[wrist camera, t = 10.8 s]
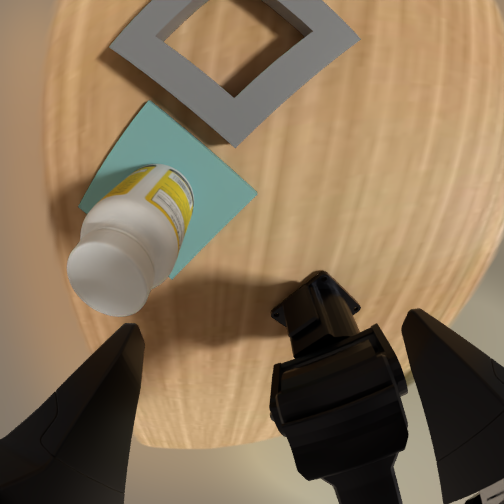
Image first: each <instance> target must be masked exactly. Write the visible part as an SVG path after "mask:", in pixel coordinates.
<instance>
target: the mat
mask: <svg viewBox="0 0 504 504" xmlns="http://www.w3.org/2000/svg"><path fill="white" fill-rule="evenodd" d="M150 164H163V165H167V166H170V167H172V168H174V169H176V170H178V171H179V172H180V173H182V174H183V175H184V176H185V178H186V179H187V180H188V182H189V184H190V185H191V188H192V191H193V195H194V208H193V213H192V216H191V219H190V222H189V225H188V228H187V231H186V233H185V236H184V239H183V242H182V245H181V248H180V251H179V254H178V257H177V260H176V263H175V265H174V268H173V270H172V272H171V273H170V275H169V276H168V277H169V278H171V279H173V278H174V277H175V276H176V275H177V274H178V273H179V272H180V271H181V270H182V269H183V268H184V267H185V266H186V265H187V264H188V263H189V262H190V261H191V260H192V259H193V257H194V256H195V255H196V254H197V253H198V252H199V251H200V250H201V249H202V248H203V247H204V246H205V245H206V244H207V243H208V242H209V241H210V240H211V239H212V238H213V237H214V236H215V235H216V234H217V233H218V232H219V231H220V230H221V229H222V228H223V227H224V226H225V225H226V224H227V223H228V222H229V221H230V220H231V219H233V218H234V217H235V216H236V215H237V214H238V213H239V212H240V211H241V210H242V209H243V208H244V207H245V206H246V205H247V204H248V203H249V202H250V201H251V200H252V199H253V198H254V197H255V196H256V195H257V192H256V191H255V190H254V189H253V188H252V187H251V186H250V185H249V184H248V183H247V182H246V181H244V180H243V179H242V178H241V177H240V176H239V175H238V174H237V173H236V172H234V171H233V170H232V169H231V168H230V167H229V166H228V165H227V164H225V163H224V162H223V161H222V160H221V159H220V158H219V157H217V156H216V155H215V154H214V153H213V152H212V151H211V150H209V149H208V148H207V147H206V146H205V145H204V144H202V143H201V142H200V141H199V140H198V139H197V138H195V137H194V136H193V135H192V134H191V133H189V132H188V131H187V130H186V129H185V128H184V127H182V126H181V125H180V124H179V123H177V122H176V121H175V120H174V119H173V118H171V117H170V116H169V115H168V114H167V113H165V112H164V111H163V110H162V109H160V108H159V107H158V106H157V105H155V104H154V103H153V102H152V101H148V102H147V103H146V104H145V105H144V107H143V108H142V109H141V111H140V112H139V113H138V114H137V116H136V117H135V118H134V120H133V121H132V122H131V124H130V125H129V126H128V128H127V129H126V130H125V132H124V133H123V135H122V136H121V137H120V139H119V140H118V142H117V143H116V145H115V146H114V148H113V149H112V151H111V152H110V154H109V155H108V157H107V158H106V160H105V161H104V163H103V165H102V166H101V168H100V169H99V171H98V173H97V174H96V176H95V178H94V179H93V181H92V183H91V184H90V186H89V188H88V190H87V191H86V193H85V195H84V197H83V199H82V201H81V202H80V204H79V206H78V207H79V208H80V209H81V210H82V211H84V212H85V213H86V214H88V213H89V211H90V210H91V209H92V208H93V207H94V206H95V205H96V204H97V203H98V202H99V201H100V200H101V199H102V198H103V197H104V196H106V195H107V194H108V193H109V192H110V191H111V190H112V189H114V188H115V187H116V186H117V185H118V184H120V183H121V182H122V181H123V180H124V179H126V178H127V177H128V176H129V175H130V174H132V173H133V172H134V171H136V170H137V169H139V168H141V167H143V166H146V165H150Z"/></svg>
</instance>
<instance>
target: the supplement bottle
mask: <svg viewBox="0 0 504 504" xmlns="http://www.w3.org/2000/svg"><path fill="white" fill-rule="evenodd" d="M193 208H194V195H193V191H192V188H191V185H190V184H189V182H188V180H187V179H186V178H185V176H184V175H183V174H182V173H180V172H179V171H178V170H176V169H174V168H172V167H170V166H167V165H163V164H150V165H146V166H143V167H141V168H139V169H137V170H136V171H134V172H133V173H132V174H130V175H129V176H128V177H127V178H126V179H124V180H123V181H122V182H121V183H120V184H118V185H117V186H116V187H115V188H114V189H112V190H111V191H110V192H109V193H108V194H107V195H106V196H104V197H103V198H102V199H101V200H100V201H99V202H98V203H97V204H96V205H95V206H94V207H93V208H92V209H91V210H90V211H89V213H88V214H87V216H86V217H85V219H84V222H83V224H82V228H81V235H80V241H79V243H78V244H77V245H76V247H75V248H74V249H73V250H72V252H71V254H70V256H69V258H68V262H67V274H68V278H69V281H70V284H71V286H72V288H73V289H74V291H75V292H76V294H77V295H78V296H79V297H80V298H81V299H82V300H83V301H84V302H85V303H86V304H87V305H89V306H90V307H91V308H93V309H95V310H96V311H99V312H101V313H103V314H106V315H110V316H117V317H124V316H129V315H132V314H135V313H136V312H138V311H139V310H140V309H141V308H142V307H143V306H144V304H145V303H146V301H147V298H148V296H149V293H150V291H151V289H153V288H155V287H157V286H159V285H160V284H161V283H163V282H164V281H165V280H166V279H167V278H168V276H169V275H170V273H171V272H172V270H173V268H174V265H175V263H176V260H177V257H178V254H179V251H180V248H181V245H182V242H183V239H184V236H185V233H186V231H187V228H188V225H189V222H190V219H191V216H192V213H193Z"/></svg>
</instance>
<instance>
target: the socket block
mask: <svg viewBox="0 0 504 504" xmlns="http://www.w3.org/2000/svg"><path fill="white" fill-rule="evenodd" d="M207 1H208V0H152V1H151V2H150V3H149V4H148V5H147V6H146V7H145V8H144V9H143V10H142V11H141V12H140V13H139V14H138V15H137V16H136V17H135V18H134V19H133V20H132V21H131V22H130V23H129V24H128V25H127V26H126V28H125V29H124V30H123V31H122V32H121V33H120V34H119V36H118V37H117V38H116V39H115V40H114V41H113V43H112V44H111V45H110V46H109V48H111V49H112V50H114V51H115V52H117V53H118V54H119V55H121V56H122V57H124V58H125V59H126V60H128V61H129V62H130V63H132V64H133V65H135V66H136V67H137V68H139V69H140V70H141V71H143V72H144V73H145V74H147V75H148V76H149V77H150V78H152V79H153V80H154V81H156V82H157V83H158V84H160V85H161V86H162V87H163V88H165V89H166V90H167V91H168V92H170V93H171V94H172V95H173V96H175V97H176V98H177V99H178V100H180V101H181V102H182V103H183V104H184V105H186V106H187V107H188V108H189V109H191V110H192V111H193V112H194V113H195V114H197V115H198V116H199V117H200V118H201V119H202V120H204V121H205V122H206V123H207V124H208V125H209V126H211V127H212V128H213V129H214V130H215V131H216V132H218V133H219V134H220V135H221V136H222V137H223V138H224V139H225V140H227V141H228V142H229V143H230V144H231V145H232V146H233V147H234V148H236V147H237V146H238V145H239V144H240V143H241V142H242V141H243V140H244V139H245V138H246V137H247V136H248V135H249V134H250V133H251V132H252V131H253V130H254V129H255V128H256V127H258V126H259V125H260V124H261V123H262V122H263V121H264V120H265V119H266V118H267V117H268V116H269V115H270V114H271V113H272V112H274V111H275V110H276V109H277V108H278V107H279V106H280V105H281V104H282V103H283V102H285V101H286V100H287V99H288V98H289V97H290V96H291V95H292V94H294V93H295V92H296V91H297V90H298V89H299V88H300V87H302V86H303V85H304V84H305V83H306V82H308V81H309V80H310V79H311V78H312V77H313V76H315V75H316V74H317V73H318V72H320V71H321V70H322V69H323V68H324V67H326V66H327V65H328V64H329V63H331V62H332V61H333V60H334V59H336V58H337V57H338V56H340V55H341V54H342V53H343V52H345V51H346V50H347V49H349V48H350V47H351V46H353V45H354V44H355V43H357V42H358V41H359V40H361V39H360V38H359V37H358V35H357V34H356V33H355V32H354V31H353V30H352V29H351V28H350V27H349V26H348V25H347V24H346V23H345V22H344V21H343V20H342V19H341V18H340V17H339V16H338V15H337V14H336V13H335V12H334V11H333V10H332V9H331V8H330V7H329V6H328V5H327V4H325V3H324V2H323V1H322V0H262V1H263V2H264V3H266V4H267V5H268V6H270V7H271V8H272V9H273V10H275V11H276V12H277V13H278V14H280V15H281V16H282V17H283V18H284V19H285V20H287V21H288V22H289V23H290V24H291V25H292V26H294V27H295V28H296V29H297V30H298V31H299V32H300V33H301V34H302V35H303V36H305V38H303V39H302V40H301V41H299V42H298V43H297V44H296V45H294V46H293V47H292V48H291V49H289V50H288V51H287V52H286V53H284V54H283V55H282V56H281V57H280V58H278V59H277V60H276V61H275V62H274V63H272V64H271V65H270V66H269V67H268V68H267V69H266V70H264V71H263V72H262V73H261V74H260V75H259V76H258V77H257V78H255V79H254V80H253V81H252V82H251V83H250V84H249V85H248V86H247V87H246V88H245V89H244V90H242V91H241V92H240V93H239V94H238V95H237V96H236V97H235V98H233V97H232V96H231V95H230V94H229V93H228V92H226V91H225V90H224V89H223V88H222V87H221V86H219V85H218V84H217V83H216V82H215V81H213V80H212V79H211V78H210V77H209V76H207V75H206V74H205V73H204V72H202V71H201V70H200V69H199V68H197V67H196V66H195V65H194V64H192V63H191V62H190V61H188V60H187V59H186V58H185V57H183V56H182V55H181V54H179V53H178V52H177V51H175V50H174V49H172V48H171V47H170V46H168V45H167V44H166V43H164V41H165V40H166V39H167V38H168V37H169V36H170V35H171V34H172V33H173V32H174V31H175V30H176V29H177V28H178V27H179V26H180V25H181V24H182V23H183V22H184V21H185V20H186V19H188V18H189V17H190V16H191V15H192V14H193V13H194V12H195V11H197V10H198V9H199V8H200V7H201V6H202V5H204V4H205V3H206V2H207Z"/></svg>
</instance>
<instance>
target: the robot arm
mask: <svg viewBox="0 0 504 504" xmlns="http://www.w3.org/2000/svg"><path fill="white" fill-rule="evenodd" d="M322 277H325V278H323V279H322ZM355 307H356V308H355ZM360 309H361V307H360V305H359V303H358V302H357V301H356V300H355V299H354V298H353V297H352V296H351V295H350V294H349V293H348V292H347V291H346V290H345V289H344V288H343V287H342V286H341V285H340V284H339V283H338V282H337V281H336V280H335V279H334V278H333V277H331V276H330V275H329V274H328V273H327V272H321V273H319V274H318V275H317V276H315V277H314V278H313V279H312V280H310V281H309V282H308V283H306V284H305V285H304V286H302V287H301V288H300V289H299V290H297V291H296V292H295V293H293V294H292V295H291V296H289V297H288V298H287V299H286V300H284V301H283V302H282V303H281V304H279V305H278V306H277V307H275V308H274V309H273V310H272V311H271V317H272V318H273V319H275V320H276V321H278V322H279V323H281V324H282V325H284V326H285V327H287V331H288V336H289V337H290V341H291V346H292V352H293V357H294V358H295V359H293V360H290V361H287V362H284V363H278V364H275V365H274V368H273V374H272V385H271V395H270V405H269V408H270V411H271V412H270V418H271V420H272V421H274V422H275V424H276V426H277V428H278V430H279V432H280V433H281V434H282V435H283V436H284V437H287V439H288V442H289V444H290V447H291V450H292V453H293V456H294V460H295V463H296V467H297V470H298V472H299V473H300V474H301V475H302V476H303V477H304V478H305V479H306V480H308V481H311V480H314V479H319V478H321V479H322V480H324V481H325V482H327V483H329V484H330V485H332V486H333V487H334V490H335V492H336V495H337V499H338V502H339V504H402V499H401V495H400V491H399V487H398V483H397V479H396V475H395V471H394V467H393V466H394V463H395V461H396V458H397V456H398V453H399V452H401V451H403V450H404V449H405V447H406V443H407V439H408V430H407V427H408V422H407V419H406V415H405V411H404V408H403V405H402V401H401V398H400V397H401V396H403V395H405V394H407V393H408V389H407V384H406V380H405V377H404V374H403V371H402V368H401V365H400V363H399V361H398V358H397V356H396V354H395V352H394V351H393V349H392V347H391V346H390V344H389V342H388V340H387V339H386V337H385V335H384V334H383V332H382V331H381V329H380V327H379V326H378V324H377V323H376V324H374V325H372V326H371V328H368V329H366V330H364V331H362V332H360V331H359V329H358V326H357V324H356V322H355V319H354V317H353V315H354V314H356V313H357V312H358V311H359V310H360ZM275 313H278V314H275ZM401 331H402V336H403V339H404V343H405V347H406V351H407V355H408V359H409V364H410V367H411V371H412V374H413V377H414V380H415V383H416V386H417V389H418V392H419V395H420V399H421V402H422V406H423V409H424V413H425V416H426V420H427V424H428V427H429V431H430V435H431V439H432V444H433V447H434V453H435V457H436V461H437V468H438V473H439V479H440V484H441V491H442V497H443V504H449V503H452V502H454V501H457V500H459V499H462V498H464V497H467V496H469V495H471V494H474V493H476V492H478V491H479V493H477V494H476V495H474V496H473V497H471V498H470V499H468V500H467V501H466V502H465V504H504V367H503V366H501V365H500V364H498V363H497V362H496V361H494V360H493V359H490V357H489V356H488V355H486V354H485V353H484V352H482V351H481V350H479V349H478V348H477V347H475V346H474V345H472V344H471V343H470V342H468V341H467V340H465V339H464V338H463V337H461V336H460V335H458V334H457V333H456V332H454V331H453V330H451V329H450V328H448V327H447V326H445V325H444V324H443V323H441V322H440V321H438V320H437V319H435V318H434V317H432V316H431V315H429V314H428V313H426V312H425V311H423V310H422V309H420V308H417V309H411V310H410V311H409V312H408V314H407V316H406V318H405V320H404V322H403V325H402V329H401ZM144 349H145V342H144V339H143V337H142V334H141V331H140V329H139V327H138V325H137V324H135V323H125V324H123V325H122V326H121V327H120V328H119V329H118V330H117V331H116V332H115V333H114V334H113V335H112V336H111V337H110V338H109V339H108V340H106V341H105V342H104V343H103V344H102V345H101V346H100V347H99V348H98V349H97V350H96V351H95V352H94V353H93V354H92V355H91V356H90V357H89V358H88V359H87V360H86V361H85V362H84V363H83V364H82V365H81V366H80V367H79V368H78V369H77V370H76V371H75V372H74V373H73V374H72V375H71V376H70V377H69V378H68V379H67V380H66V381H65V382H64V383H63V384H62V385H61V386H60V387H59V388H58V389H57V390H56V392H54V393H53V394H52V395H51V396H50V397H49V398H48V399H47V400H46V401H45V402H44V403H43V404H42V405H41V406H40V407H39V408H38V409H37V410H36V411H35V412H33V413H32V414H31V415H30V416H29V417H28V418H27V419H25V420H24V421H23V422H22V423H21V424H20V425H18V426H17V427H16V428H15V429H14V430H13V431H11V432H10V433H9V434H8V435H7V436H5V437H4V438H2V439H0V504H124V493H125V483H126V475H127V466H128V459H129V452H130V444H131V438H132V432H133V426H134V420H135V415H136V409H137V404H138V399H139V394H140V388H141V379H142V368H143V358H144Z"/></svg>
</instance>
